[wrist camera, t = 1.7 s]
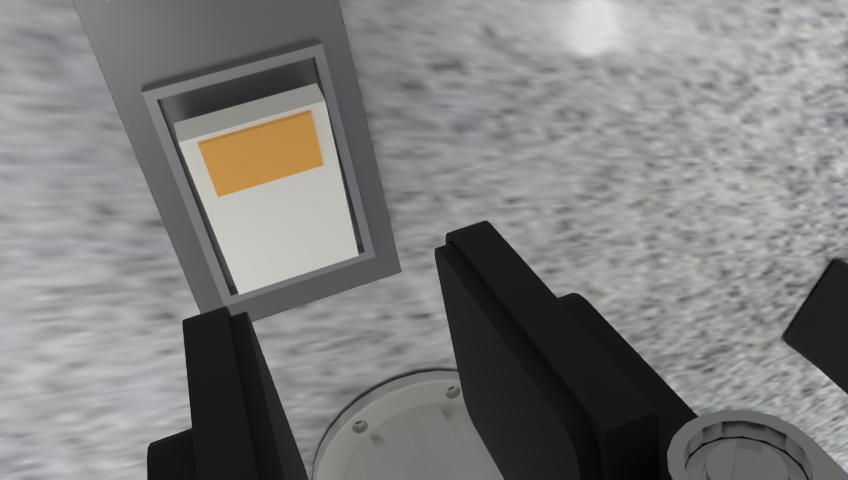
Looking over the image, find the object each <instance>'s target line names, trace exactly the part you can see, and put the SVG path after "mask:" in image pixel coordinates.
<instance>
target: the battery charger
mask: <svg viewBox="0 0 848 480" xmlns="http://www.w3.org/2000/svg"><path fill="white" fill-rule="evenodd" d="M785 343H786V344H788V345H789V346H790V347H792V348H793V349H794V350H796V351H797V352H799V353H800V354H801V355H802V356H804V357H805V358H806V359H807V360H809V361H810V362H811V363H813V364H814V365H815V366H816V367H817V368H819V369H820V370H821V371H822V372H823V373H824V374H825V375H826V376H828V377H829V378H830V379H831V380H832V381H833V382H834V383H835V384H837V385H838V386H839V387H840V388H841V389H842V390H843V391H845V392H846V393H847V394H848V261H846V260H838V261H835V262H834V264H833V265H832V266H831V268H830V269H829V270H828V272H827V273H826V274H825V276H824V277H823V279H822V280H821V282H820V283H819V284H818V286H817V287H816V289H815V290H814V292H813V293H812V295H811V296H810V298H809V299H808V301H807V302H806V304H805V305H804V307H803V308H802V310H801V312H800V313H799V315H798V316H797V318H796V320H795V321H794V323H793V325H792V326H791V328H790V330H789V332H788V333H787V335H786V337H785Z"/></svg>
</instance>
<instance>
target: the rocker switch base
mask: <svg viewBox="0 0 848 480" xmlns="http://www.w3.org/2000/svg"><path fill="white" fill-rule="evenodd" d="M73 2H74V5H75V7H76V9H77V12H78V14H79V17H80V19H81V22H82V24H83V27H84V29H85V31H86V34H87V36H88V39H89V41H90V44H91V46H92V49H93V51H94V53H95V56H96V58H97V61H98V63H99V66H100V68H101V71H102V73H103V76H104V78H105V80H106V83H107V85H108V88H109V90H110V93H111V95H112V98H113V100H114V102H115V105H116V107H117V110H118V112H119V115H120V117H121V120H122V122H123V124H124V127H125V129H126V132H127V134H128V137H129V139H130V142H131V144H132V146H133V149H134V151H135V154H136V156H137V159H138V161H139V164H140V166H141V168H142V171H143V173H144V176H145V178H146V181H147V183H148V186H149V188H150V191H151V193H152V195H153V198H154V200H155V203H156V205H157V208H158V210H159V213H160V215H161V217H162V220H163V222H164V225H165V227H166V230H167V232H168V235H169V237H170V239H171V242H172V244H173V247H174V249H175V252H176V254H177V257H178V259H179V261H180V264H181V266H182V269H183V271H184V274H185V276H186V279H187V281H188V283H189V286H190V288H191V291H192V293H193V296H194V298H195V301H196V303H197V306H198V308H199V310H200V313H201V314H203V313H206V312H209V311H212V310H215V309H218V308H221V307H224V306H227V307H228V309H229V311H230V314H231V316H233V315H236V314H239V313H242V312H245V311H247V313H248V315H249V318H250V320H251V322H254V321H257V320H260V319H263V318H266V317H268V316H271V315H274V314H277V313H280V312H283V311H286V310H289V309H292V308H295V307H298V306H301V305H304V304H307V303H310V302H313V301H316V300H319V299H322V298H325V297H328V296H331V295H334V294H337V293H340V292H343V291H346V290H349V289H352V288H355V287H358V286H361V285H364V284H367V283H370V282H373V281H376V280H379V279H382V278H385V277H388V276H391V275H394V274H397V273H400V272H401V268H400V264H399V259H398V255H397V251H396V246H395V242H394V238H393V233H392V229H391V225H390V220H389V216H388V212H387V207H386V203H385V199H384V195H383V190H382V186H381V182H380V177H379V173H378V169H377V164H376V160H375V156H374V151H373V147H372V143H371V138H370V134H369V130H368V125H367V121H366V117H365V113H364V108H363V104H362V100H361V95H360V91H359V87H358V82H357V78H356V74H355V69H354V65H353V61H352V56H351V52H350V48H349V44H348V39H347V35H346V31H345V26H344V22H343V18H342V13H341V9H340V5H339V0H73ZM315 83H317V85H318V87H319V89H320V91H321V93H322V95H323V97H324V99H325V102H326V107H327V111H328V116H329V121H330V125H331V130H332V134H333V139H334V144H335V148H336V153H337V157H338V162H339V167H340V171H341V176H342V180H343V185H344V190H345V194H346V199H347V203H348V208H349V213H350V217H351V222H352V226H353V231H354V236H355V240H356V245H357V249H358V254H359V256H357V257H353V258H350V259H347V260H344V261H341V262H338V263H335V264H332V265H329V266H326V267H323V268H320V269H317V270H314V271H311V272H308V273H305V274H302V275H298V276H295V277H292V278H289V279H286V280H283V281H280V282H277V283H274V284H271V285H268V286H265V287H262V288H259V289H256V290H253V291H250V292H247V293H244V294H240V295H239V293H238V290H237V288H236V285H235V283H234V280H233V278H232V275H231V273H230V270H229V268H228V265H227V263H226V260H225V258H224V256H223V253H222V251H221V248H220V246H219V243H218V241H217V238H216V236H215V233H214V231H213V228H212V226H211V223H210V221H209V218H208V216H207V213H206V211H205V208H204V206H203V203H202V201H201V198H200V196H199V193H198V191H197V188H196V186H195V183H194V181H193V178H192V176H191V173H190V171H189V168H188V166H187V163H186V161H185V158H184V156H183V153H182V151H181V148H180V146H179V143H178V139H177V135H176V131H175V127H174V123H176V122H180V121H183V120H187V119H190V118H194V117H198V116H201V115H205V114H208V113H212V112H215V111H219V110H222V109H226V108H230V107H233V106H237V105H240V104H244V103H247V102H251V101H254V100H258V99H262V98H265V97H269V96H272V95H276V94H279V93H283V92H286V91H290V90H294V89H297V88H301V87H304V86H308V85H311V84H315Z"/></svg>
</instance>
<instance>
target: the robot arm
mask: <svg viewBox="0 0 848 480" xmlns="http://www.w3.org/2000/svg"><path fill="white" fill-rule="evenodd" d="M435 260H436V265H437V270H438V275H439V279H440V284H441V289H442V294H443V299H444V304H445V309H446V314H447V319H448V324H449V329H450V334H451V339H452V344H453V349H454V354H455V359H456V364H457V368H458V372H453V371H432V372H424V373H417V374H413V375H410V376H406V377H402V378H399V379H396V380H394V381H392V382H389V383H387V384H385V385H383V386H380V387H378V388H376V389H375V390H373V391H372V392H370V393H368V394H367V395H365V396H364V397H362V398H361V399H359V400H358V401H357V402H355V403H354V404H353V405H352V406H351V407H350V408H349V409H347V410H346V411H345V412H344V413H343V414H342V415H341V416H340V417H339V419H338V420H337V421H336V422H335V423H334V424H333V426H332V427H331V428H330V429H329V431H328V433H327V434H326V436H325V438H324V440H323V441H322V443H321V445H320V447H319V450H318V453H317V456H316V459H315V462H314V471H313V480H848V474H847V473H846V472H845V471H844V470H843V469H842V468H841V467H840V466H839V465H838V464H837V463H836V462H835V461H834V460H833V459H832V458H831V457H830V456H829V455H828V454H827V453H826V452H825V451H824V450H823V449H822V448H821V447H820V446H819V445H818V444H817V443H816V442H815V441H814V440H813V439H812V438H810V437H809V436H808V435H806V434H805V433H804V432H802V431H801V430H800V429H798V428H797V427H796V426H794V425H792V424H790V423H788V422H786V421H783V420H781V419H779V418H777V417H774V416H772V415H768V414H763V413H759V412H754V411H750V410H722V411H717V412H712V413H708V414H703V415H701V416H699V417H698V416H697V415H696V414H695V413H694V412H693V411H692V410H691V409H690V408H689V407H688V406H687V405H686V403H685V402H684V401H683V400H682V399H681V398H680V397H679V396H678V395H677V394H676V393H675V392H674V391H673V390H672V389H671V388H670V387H669V386H668V385H667V384H666V383H665V381H664V380H663V379H662V378H661V377H660V376H659V375H658V374H657V373H656V372H655V371H654V370H653V369H652V368H651V367H650V366H649V365H648V364H647V363H646V362H645V361H644V360H643V358H642V357H641V356H640V355H639V354H638V353H637V352H636V351H635V350H634V349H633V348H632V347H631V346H630V345H629V344H628V343H627V342H626V341H625V340H624V339H623V338H622V336H621V335H620V334H619V333H618V332H617V331H616V330H615V329H614V328H613V327H612V326H611V325H610V324H609V323H608V322H607V321H606V320H605V319H604V318H603V317H602V316H601V315H600V313H599V312H598V311H597V310H596V309H595V308H594V307H593V306H592V305H591V304H590V303H589V302H588V301H587V300H586V299H585V298H584V297H582V296H581V295H580V294H577V293H571V294H568V295H565V296H562V297H559V298H557V297H556V296H555V295H554V294H553V293H552V292H551V291H550V289H549V288H548V287H547V286H546V285H545V284H544V283H543V282H542V281H541V279H540V278H539V277H538V276H537V275H536V274H535V273H534V272H533V271H532V269H531V268H530V267H529V266H528V265H527V264H526V263H525V262H524V260H523V259H522V258H521V257H520V256H519V255H518V254H517V253H516V252H515V250H514V249H513V248H512V247H511V246H510V245H509V244H508V243H507V242H506V240H505V239H504V238H503V237H502V236H501V235H500V234H499V233H498V231H497V230H496V229H495V228H494V227H493V226H492V225H491V224H490V223H489V222H488V221H482V222H479V223H476V224H473V225H470V226H467V227H464V228H461V229H458V230H455V231H452V232H449V233H447V234H446V245H444V246H441V247H438V248H435ZM183 334H184V345H185V356H186V367H187V377H188V388H189V399H190V409H191V420H192V428H191V429H189V430H186V431H183V432H180V433H177V434H175V435H172V436H169V437H166V438H163V439H161V440H158V441H155V442H152V443H150V445H149V447H148V453H147V480H308V477H307V473H306V470H305V467H304V464H303V461H302V458H301V456H300V453H299V450H298V448H297V445H296V442H295V439H294V437H293V434H292V431H291V429H290V426H289V423H288V420H287V418H286V415H285V412H284V410H283V407H282V404H281V401H280V399H279V396H278V393H277V391H276V388H275V385H274V383H273V380H272V377H271V374H270V372H269V369H268V366H267V364H266V361H265V358H264V355H263V353H262V350H261V347H260V345H259V342H258V339H257V336H256V334H255V331H254V328H253V326H252V323H251V320H250V318H249V315H248V313H247V311H245V312H242V313H239V314H236V315H233V316H231V314H230V311H229V309H228V307H227V306H224V307H221V308H218V309H215V310H212V311H209V312H206V313H203V314H200V315H197V316H194V317H190V318H187V319H184V320H183Z"/></svg>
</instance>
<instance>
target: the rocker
mask: <svg viewBox="0 0 848 480" xmlns="http://www.w3.org/2000/svg"><path fill="white" fill-rule="evenodd" d="M174 127H175V131H176V135H177V139H178V143H179V146H180V148H181V151H182V153H183V156H184V158H185V161H186V163H187V166H188V168H189V171H190V173H191V176H192V178H193V181H194V183H195V186H196V188H197V191H198V193H199V196H200V198H201V201H202V203H203V206H204V208H205V211H206V213H207V216H208V218H209V221H210V223H211V226H212V228H213V231H214V233H215V236H216V238H217V241H218V243H219V246H220V248H221V251H222V253H223V256H224V258H225V260H226V263H227V265H228V268H229V270H230V273H231V275H232V278H233V280H234V283H235V285H236V288H237V290H238V293H239V295H240V294H244V293H247V292H250V291H253V290H256V289H259V288H262V287H265V286H268V285H271V284H274V283H277V282H280V281H283V280H286V279H289V278H292V277H295V276H298V275H302V274H305V273H308V272H311V271H314V270H317V269H320V268H323V267H326V266H329V265H332V264H335V263H338V262H341V261H344V260H347V259H350V258H353V257H357V256H359V254H358V249H357V245H356V240H355V236H354V231H353V226H352V222H351V217H350V213H349V208H348V203H347V199H346V194H345V190H344V185H343V180H342V176H341V171H340V167H339V162H338V157H337V153H336V148H335V144H334V139H333V134H332V130H331V125H330V121H329V116H328V111H327V107H326V102H325V99H324V97H323V95H322V93H321V91H320V89H319V87H318V85H317V83H315V84H311V85H308V86H304V87H301V88H297V89H294V90H290V91H286V92H283V93H279V94H276V95H272V96H269V97H265V98H262V99H258V100H254V101H251V102H247V103H244V104H240V105H237V106H233V107H230V108H226V109H222V110H219V111H215V112H212V113H208V114H205V115H201V116H198V117H194V118H190V119H187V120H183V121H180V122H176V123H174Z"/></svg>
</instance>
